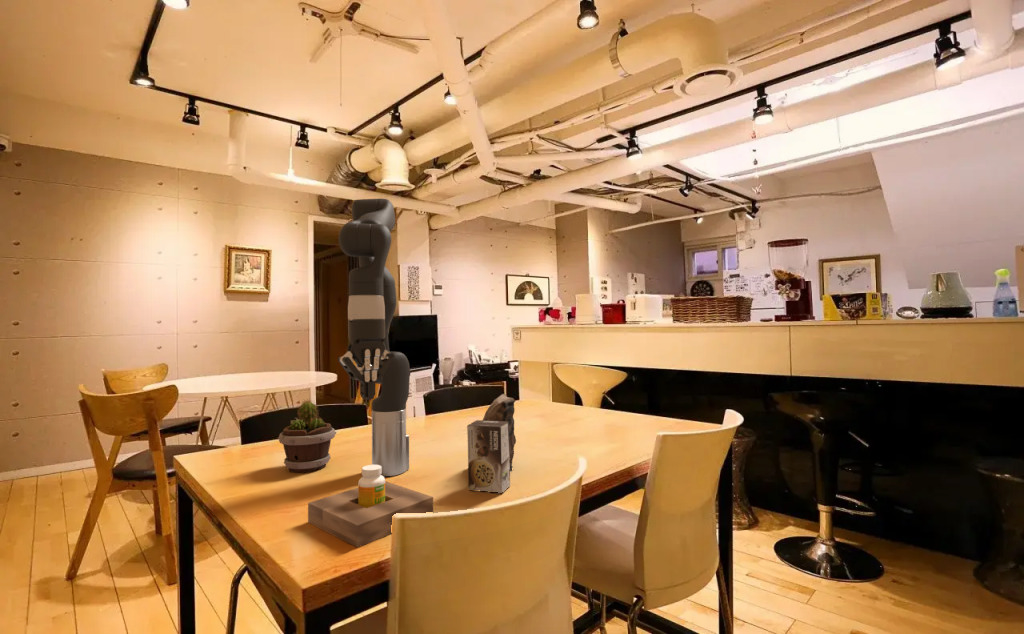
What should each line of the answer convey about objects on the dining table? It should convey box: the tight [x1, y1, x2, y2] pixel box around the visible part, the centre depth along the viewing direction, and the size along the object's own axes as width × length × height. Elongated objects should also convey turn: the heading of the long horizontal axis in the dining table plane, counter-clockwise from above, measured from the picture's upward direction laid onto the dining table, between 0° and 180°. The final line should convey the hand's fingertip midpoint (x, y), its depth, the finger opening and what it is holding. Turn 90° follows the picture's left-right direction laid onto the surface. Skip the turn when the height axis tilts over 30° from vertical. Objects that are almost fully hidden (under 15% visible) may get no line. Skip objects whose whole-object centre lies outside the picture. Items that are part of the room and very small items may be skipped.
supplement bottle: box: [357, 464, 386, 508], centre depth 98 cm, size 5×5×10 cm
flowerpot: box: [277, 399, 337, 473], centre depth 135 cm, size 14×15×20 cm
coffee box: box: [466, 419, 511, 494], centre depth 116 cm, size 9×6×16 cm
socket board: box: [307, 480, 434, 548], centre depth 98 cm, size 18×18×4 cm
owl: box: [482, 393, 517, 472], centre depth 133 cm, size 13×13×20 cm
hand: (367, 398), depth 99 cm, fingers closed
